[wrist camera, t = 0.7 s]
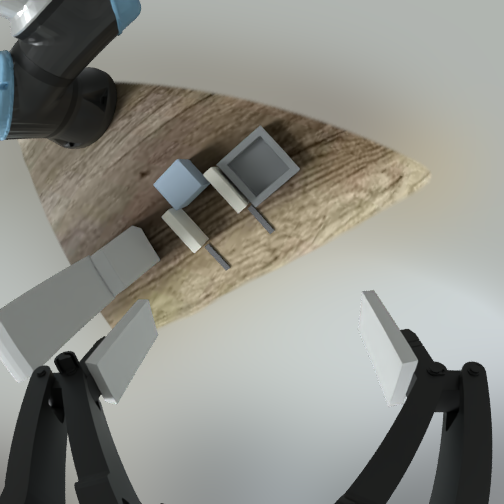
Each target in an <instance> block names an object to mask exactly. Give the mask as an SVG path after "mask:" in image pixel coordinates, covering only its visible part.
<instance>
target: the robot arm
mask: <svg viewBox="0 0 504 504" xmlns="http://www.w3.org/2000/svg"><path fill="white" fill-rule="evenodd" d="M140 11H141V4H140V2H139V0H0V16H2V17H5V18H6V19H9V21H10V28H11V35H12V36H13V37H16V38H18V41H17V42H16V43H15V45H14V46H13V48H12V49H11V50H10V51H9V52H8V51H7V50H3V51H0V140H8V139H28V138H47V139H49V140H51V141H53V142H55V143H56V144H58V145H60V146H62V147H65V148H69V149H79V148H84V147H87V146H89V145H91V144H92V143H94V142H95V141H96V140H98V139H99V138H100V136H101V135H102V134H103V133H104V132H105V130H106V129H107V127H108V125H109V124H110V122H111V119H112V117H113V114H114V111H115V107H116V100H117V93H116V87H115V83H114V81H113V79H112V78H111V77H110V76H109V75H108V74H107V73H106V72H104V71H101V70H99V69H96V68H90V67H88V68H85V67H86V66H87V65H88V64H89V63H90V62H91V61H92V60H93V59H94V58H95V57H96V56H97V55H98V54H99V53H100V52H101V51H102V50H103V49H104V48H105V47H106V46H107V45H108V44H109V43H110V42H111V41H112V40H113V39H114V38H115V37H116V36H117V35H118V36H119V35H120V34H121V33H122V31H123V30H124V29H125V28H126V27H127V26H128V25H129V24H130V23H131V22H132V21H134V20H135V19H136V18H137V16H138V15H139V14H140ZM358 331H359V334H360V336H361V338H362V341H363V343H364V345H365V348H366V350H367V353H368V355H369V358H370V360H371V363H372V365H373V368H374V370H375V373H376V376H377V378H378V381H379V383H380V386H381V389H382V391H383V394H384V396H385V399H386V402H387V405H388V407H390V406H395V405H399V404H403V402H404V399H405V397H406V396H407V400H406V402H405V404H404V405H403V407H402V409H401V411H400V413H399V415H398V416H397V418H396V420H395V422H394V423H393V425H392V427H391V428H390V430H389V432H388V433H387V435H386V437H385V438H384V440H383V442H382V443H381V445H380V446H379V448H378V449H377V451H376V452H375V454H374V455H373V457H372V458H371V460H370V461H369V462H368V464H367V465H366V467H365V468H364V469H363V471H362V472H361V474H360V475H359V476H358V478H357V479H356V480H355V481H354V483H353V484H352V485H351V487H350V488H349V489H348V490H347V491H346V493H345V494H344V495H343V496H341V497H340V498H339V499H338V500H337V501H336V503H335V504H386V503H387V501H388V500H389V498H390V497H391V495H392V493H393V492H394V490H395V489H396V487H397V485H398V484H399V482H400V481H401V479H402V477H403V475H404V474H405V472H406V470H407V468H408V466H409V465H410V463H411V461H412V459H413V457H414V455H415V453H416V451H417V449H418V447H419V445H420V443H421V441H422V439H423V437H424V435H425V432H426V430H427V428H428V426H429V423H430V421H431V418H432V416H433V414H434V412H444V414H443V427H442V437H441V444H440V452H439V459H438V465H437V471H436V476H435V481H434V485H433V490H432V494H431V498H430V502H429V504H488V502H489V494H490V485H491V472H492V422H491V408H490V398H489V390H488V382H487V376H486V371H485V368H484V367H483V366H482V365H481V364H479V363H477V362H468V363H465V364H464V366H463V367H462V370H461V371H453V370H452V371H451V370H447V369H446V367H445V366H444V365H443V364H441V363H439V362H434V361H433V360H432V358H431V357H430V355H429V354H428V352H427V351H426V349H425V347H424V346H423V345H422V343H421V341H419V338H418V337H417V336H416V334H415V333H413V332H412V331H411V330H409V329H404V330H399V328H398V326H397V325H396V323H395V322H394V320H393V319H392V317H391V315H390V314H389V312H388V311H387V309H386V308H385V306H384V305H383V303H382V302H381V300H380V299H379V297H378V296H377V294H376V293H375V291H374V290H372V291H362V298H361V308H360V317H359V325H358ZM157 336H158V333H157V329H156V326H155V322H154V319H153V315H152V311H151V308H150V304H149V300H140V299H138V300H137V301H136V303H135V304H134V305H133V306H132V307H131V308H130V309H129V311H128V312H127V313H126V314H125V315H124V316H123V317H122V319H121V320H120V321H119V322H118V323H117V324H116V326H115V327H114V328H113V329H112V330H111V331H110V333H109V334H108V335H107V336H106V337H105V336H104V337H103V338H101V339H100V340H98V341H97V342H96V343H95V344H94V345H93V347H92V348H91V349H90V350H89V352H88V353H87V354H86V355H85V356H84V357H83V358H82V360H81V361H80V362H79V361H78V359H77V357H76V355H75V353H74V352H71V351H67V352H63V353H61V354H59V355H58V356H57V357H56V358H55V360H54V363H55V365H56V367H57V369H58V371H59V373H52V371H51V370H50V367H49V366H39V367H37V368H36V369H35V370H34V371H33V373H32V375H31V378H30V381H29V384H28V387H27V390H26V393H25V396H24V399H23V402H22V405H21V409H20V412H19V416H18V420H17V423H16V427H15V431H14V436H13V440H12V444H11V450H10V454H9V460H8V467H7V473H6V479H5V487H4V489H3V492H2V494H1V496H0V504H65V462H66V445H67V434H68V437H69V442H70V447H71V451H72V456H73V460H74V464H75V468H76V472H77V476H78V480H79V481H78V482H76V483H75V485H74V486H75V491H76V494H77V497H78V500H79V504H142V503H141V502H140V501H139V499H138V497H137V495H136V493H135V491H134V489H133V487H132V485H131V483H130V481H129V478H128V476H127V474H126V472H125V469H124V467H123V464H122V462H121V460H120V457H119V455H118V452H117V450H116V447H115V444H114V442H113V439H112V436H111V433H110V431H109V427H108V424H107V421H106V418H105V415H104V413H103V409H102V405H101V402H100V401H99V399H98V398H99V397H100V395H101V394H102V396H103V398H104V400H105V401H106V402H110V403H114V404H118V402H119V400H120V398H121V396H122V395H123V393H124V392H125V390H126V388H127V386H128V385H129V383H130V381H131V380H132V378H133V376H134V375H135V373H136V371H137V369H138V367H139V366H140V364H141V363H142V361H143V359H144V358H145V356H146V354H147V353H148V351H149V349H150V348H151V346H152V345H153V343H154V341H155V340H156V338H157ZM161 504H163V503H161Z"/></svg>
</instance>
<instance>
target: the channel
mask: <svg viewBox="0 0 504 504" xmlns="http://www.w3.org/2000/svg"><path fill="white" fill-rule="evenodd" d="M203 176H204V177H205V178H206V179H207V180H208V181H209V182H210V183H211V184H212V185H213V186H214V188H215V189H216V190H217V191H218V192H219V193H220V194H221V195H222V196H223V197H224V199H225V200H226V201H227V202H228V203H229V204H230V205H231V206H232V207H233V208H234V210H235V211H236V212H237V213H239V212H241V211H242V210H243V209H244V208H245V207H246V206H247V205H248V204H249V203H250V201H249V200H248V199H247V198H246V197H245V196H244V195H243V194H242V192H241V191H240V190H239V189H238V188H237V187H236V186H235V185H234V184H233V183H232V181H231V180H230V179H229V178H228V177H227V176H226V175H225V174H224V173H223V172H222V171H221V169H220V168H219V167H211V168H209V169H208V170H207V171H206V172H205V173H204V174H203ZM162 219H163V220H164V221H165V222H166V223H167V224H168V225H169V226H170V227H171V229H172V230H173V231H174V232H175V233H176V234H177V235H178V236H179V237H180V239H181V240H182V241H183V242H184V243H185V244H186V245H187V246H188V247H189V248H190V249H191V251H192V252H193V253H195V252H196V251H197V250H198V249H200V248H201V247H202V246H203V245H204V244H205V242H206V241H207V240H208V239H209V238H208V237H207V236H206V235H205V234H204V233H203V231H202V230H201V229H200V228H199V227H198V226H197V225H196V224H195V223H194V222H193V220H192V219H191V218H190V217H189V216H188V215H187V214H186V213H185V212H184V211H183V209H182V208H181V209H179V210H177V211H176V210H175V209H174V208H171V209H169V210H167V211H166V212H165V214H164V215H163V216H162Z"/></svg>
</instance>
